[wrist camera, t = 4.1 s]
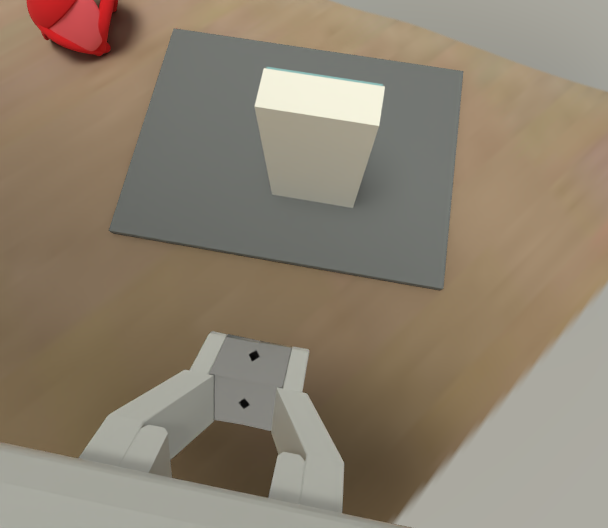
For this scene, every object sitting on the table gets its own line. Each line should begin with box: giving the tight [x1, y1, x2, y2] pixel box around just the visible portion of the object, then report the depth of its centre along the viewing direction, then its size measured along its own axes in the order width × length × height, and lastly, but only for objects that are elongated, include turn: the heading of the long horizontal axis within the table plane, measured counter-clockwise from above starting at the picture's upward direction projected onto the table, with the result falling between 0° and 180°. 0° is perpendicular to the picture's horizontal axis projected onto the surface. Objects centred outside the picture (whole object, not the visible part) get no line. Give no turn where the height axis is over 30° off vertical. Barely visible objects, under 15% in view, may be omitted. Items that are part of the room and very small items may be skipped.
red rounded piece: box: [27, 0, 118, 56], centre depth 30 cm, size 8×6×6 cm
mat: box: [109, 29, 463, 290], centre depth 29 cm, size 24×18×1 cm
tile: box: [254, 67, 385, 208], centre depth 23 cm, size 6×2×10 cm, turn 80°
